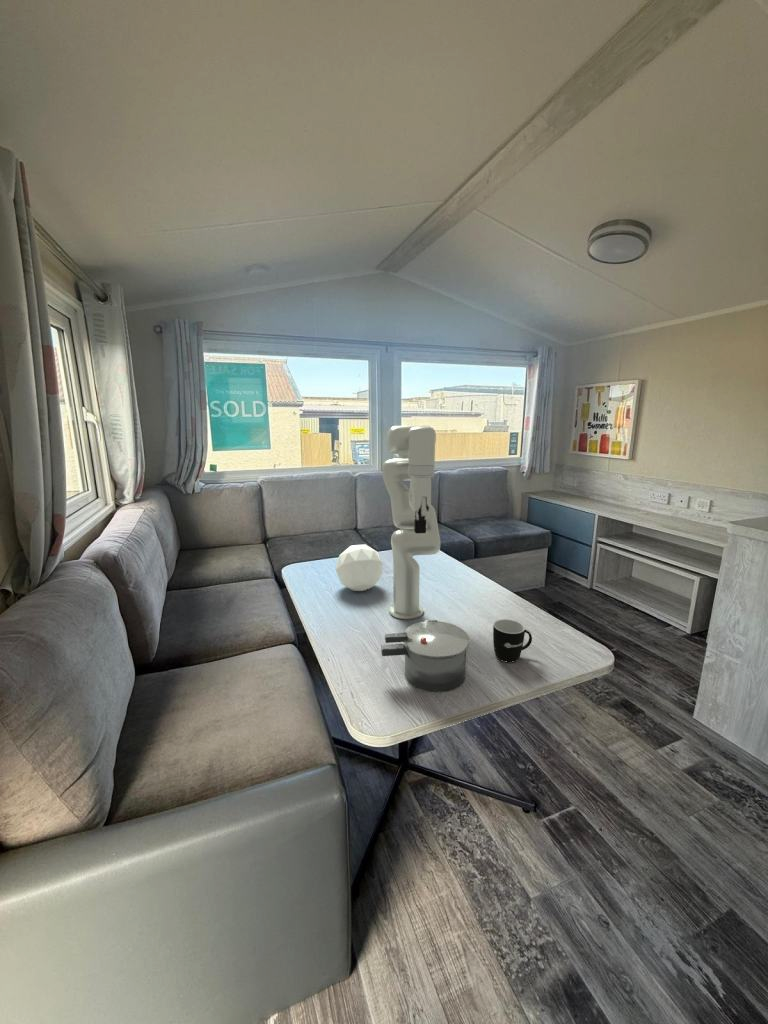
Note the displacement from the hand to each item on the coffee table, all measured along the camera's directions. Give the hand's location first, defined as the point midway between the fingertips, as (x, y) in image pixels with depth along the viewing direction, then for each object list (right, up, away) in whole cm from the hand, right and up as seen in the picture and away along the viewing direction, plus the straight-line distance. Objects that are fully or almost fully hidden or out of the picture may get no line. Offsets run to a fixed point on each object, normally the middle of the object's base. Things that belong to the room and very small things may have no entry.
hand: (420, 532), depth 125 cm
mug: (+28, -38, +2) cm, 47 cm away
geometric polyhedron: (-21, -26, +53) cm, 63 cm away
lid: (+1, -29, -8) cm, 31 cm away
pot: (0, -39, -7) cm, 40 cm away
